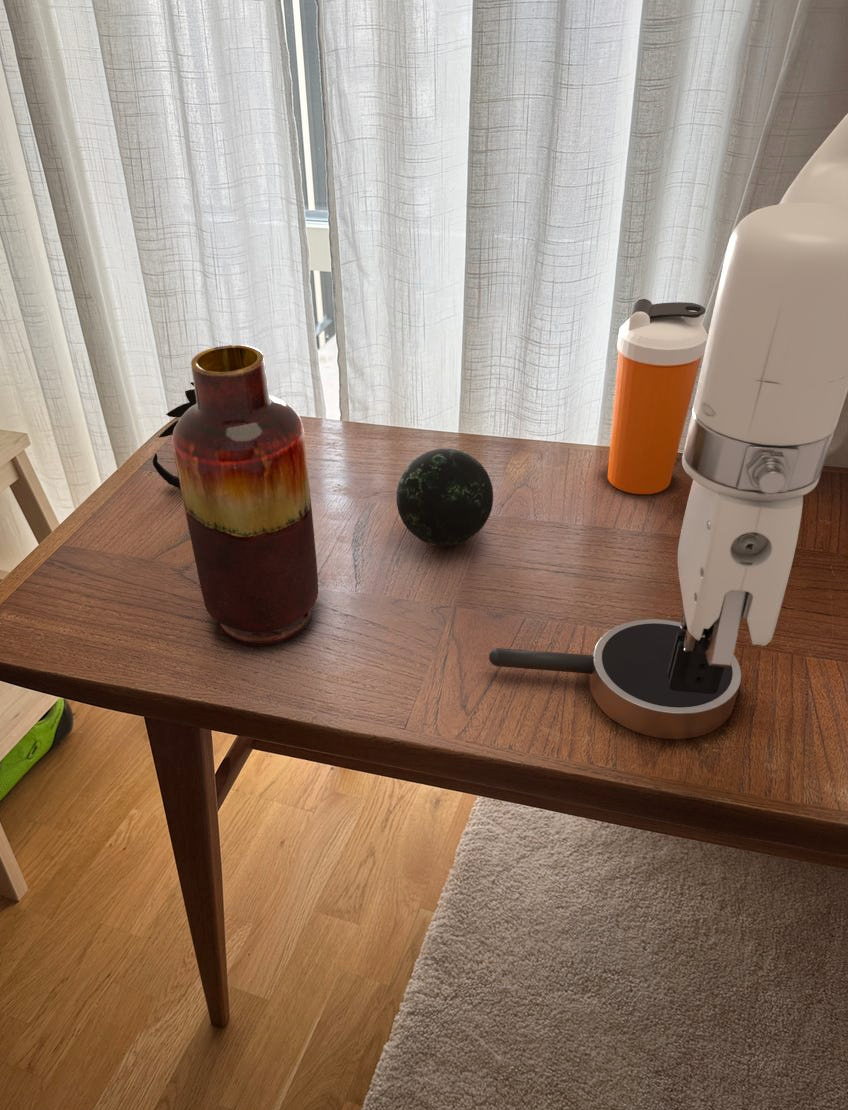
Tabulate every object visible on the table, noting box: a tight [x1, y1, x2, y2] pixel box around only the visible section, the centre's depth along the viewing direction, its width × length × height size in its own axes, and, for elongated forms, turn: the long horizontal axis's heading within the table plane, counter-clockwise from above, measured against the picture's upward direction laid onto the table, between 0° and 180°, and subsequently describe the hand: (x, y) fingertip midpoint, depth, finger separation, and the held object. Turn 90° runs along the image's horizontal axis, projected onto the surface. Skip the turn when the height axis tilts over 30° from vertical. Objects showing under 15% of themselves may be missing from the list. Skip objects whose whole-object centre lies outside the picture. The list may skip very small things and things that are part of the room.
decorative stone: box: [395, 448, 494, 547], centre depth 95 cm, size 10×10×10 cm
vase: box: [171, 344, 319, 647], centre depth 81 cm, size 11×11×26 cm
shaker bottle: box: [607, 298, 708, 495], centre depth 100 cm, size 9×9×20 cm
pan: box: [488, 618, 742, 740], centre depth 79 cm, size 21×12×3 cm, turn 80°
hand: (691, 684), depth 64 cm, fingers closed
